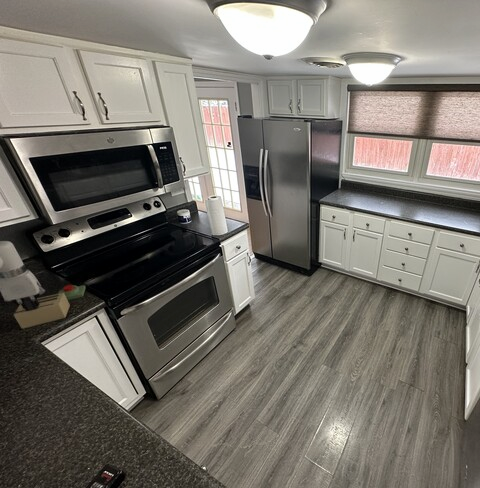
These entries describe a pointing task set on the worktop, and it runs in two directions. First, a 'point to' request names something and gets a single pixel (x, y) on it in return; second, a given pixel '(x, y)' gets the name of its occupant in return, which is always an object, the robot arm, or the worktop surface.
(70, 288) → the button
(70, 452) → the worktop surface
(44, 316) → the toaster
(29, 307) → the slider
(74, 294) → the panel
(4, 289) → the robot arm
